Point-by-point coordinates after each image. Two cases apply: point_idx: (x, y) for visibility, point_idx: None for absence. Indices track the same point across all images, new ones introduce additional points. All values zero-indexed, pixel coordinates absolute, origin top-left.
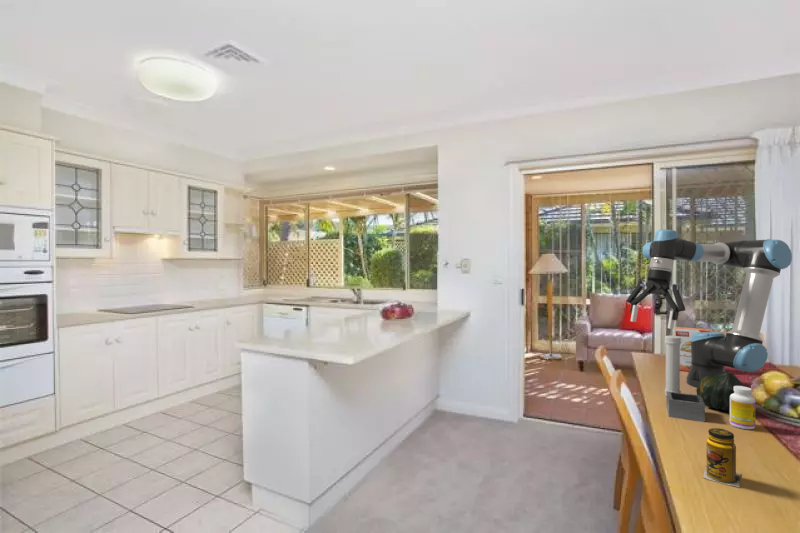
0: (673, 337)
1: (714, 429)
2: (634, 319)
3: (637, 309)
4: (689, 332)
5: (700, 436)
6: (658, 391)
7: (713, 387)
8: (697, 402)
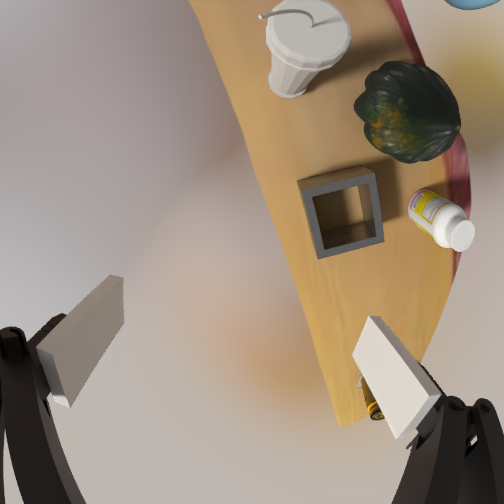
0: (323, 53)
1: (376, 414)
2: (117, 311)
3: (73, 338)
4: None
5: (364, 299)
6: (246, 61)
7: (407, 155)
8: (371, 237)
